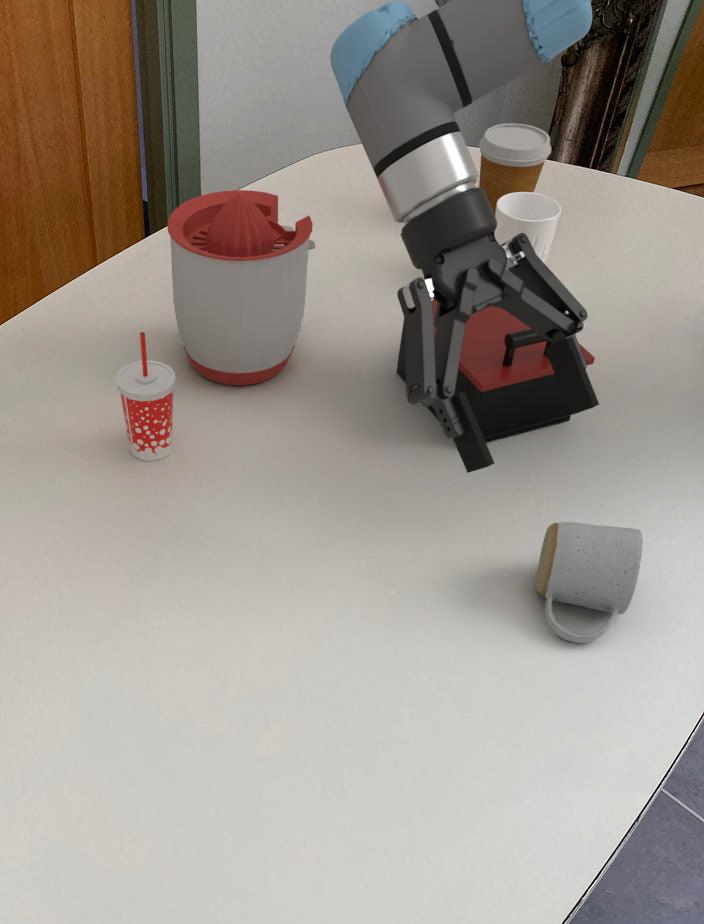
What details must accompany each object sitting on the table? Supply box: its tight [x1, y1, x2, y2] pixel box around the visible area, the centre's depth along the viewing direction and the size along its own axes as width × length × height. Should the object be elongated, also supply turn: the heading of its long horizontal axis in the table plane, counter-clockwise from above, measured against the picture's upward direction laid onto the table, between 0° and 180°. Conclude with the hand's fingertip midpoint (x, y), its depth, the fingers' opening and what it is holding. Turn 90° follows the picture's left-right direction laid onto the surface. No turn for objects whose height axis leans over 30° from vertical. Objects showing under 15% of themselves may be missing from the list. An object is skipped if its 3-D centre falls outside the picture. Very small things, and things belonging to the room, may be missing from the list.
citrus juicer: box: [166, 189, 316, 387], centre depth 112 cm, size 16×17×20 cm
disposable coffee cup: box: [478, 122, 552, 215], centre depth 136 cm, size 10×10×12 cm
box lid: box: [432, 299, 596, 392], centre depth 106 cm, size 16×14×4 cm
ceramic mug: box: [535, 521, 644, 644], centre depth 89 cm, size 11×8×8 cm
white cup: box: [494, 192, 562, 270], centre depth 127 cm, size 8×8×10 cm
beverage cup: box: [115, 331, 176, 462], centre depth 102 cm, size 6×6×14 cm
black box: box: [395, 321, 587, 444], centre depth 111 cm, size 16×14×8 cm
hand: (534, 438), depth 87 cm, fingers open, 13 cm apart
